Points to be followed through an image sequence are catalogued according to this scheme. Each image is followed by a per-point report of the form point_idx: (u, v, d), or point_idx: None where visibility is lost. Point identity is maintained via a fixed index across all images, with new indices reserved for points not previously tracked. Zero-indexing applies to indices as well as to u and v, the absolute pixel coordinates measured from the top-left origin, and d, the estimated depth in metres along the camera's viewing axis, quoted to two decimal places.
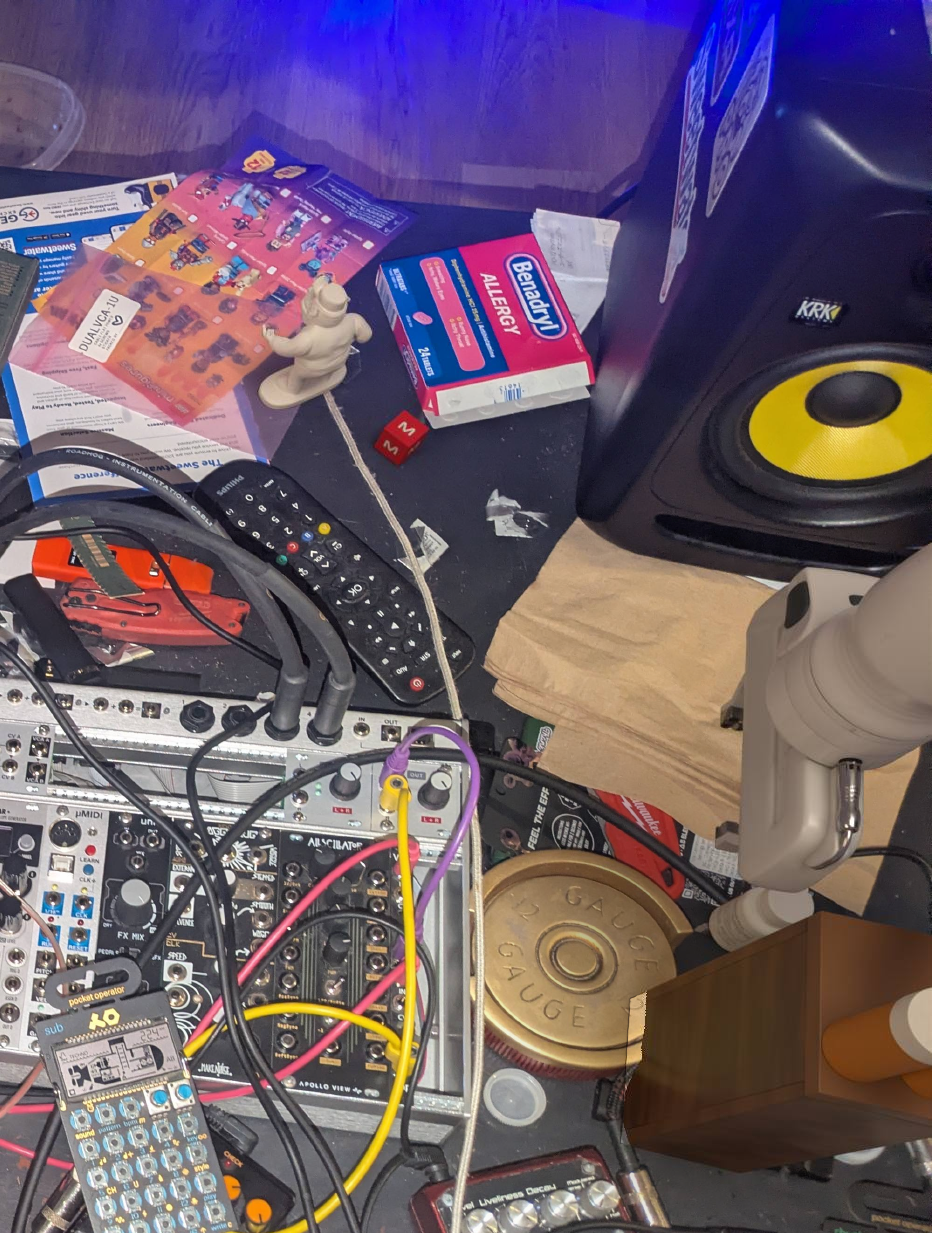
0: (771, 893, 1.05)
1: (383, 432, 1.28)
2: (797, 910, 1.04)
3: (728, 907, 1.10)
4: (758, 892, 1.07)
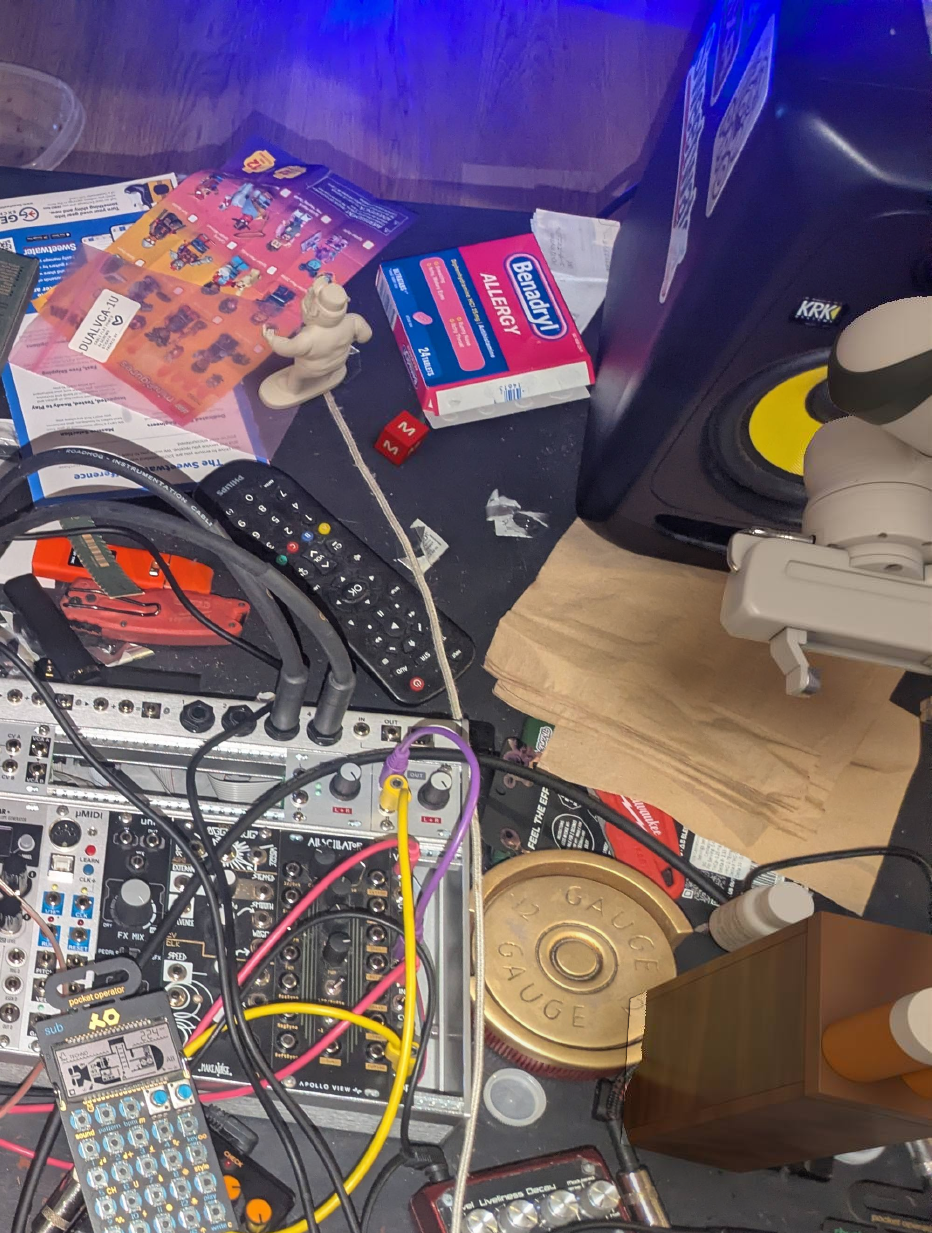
0: (771, 893, 1.05)
1: (383, 432, 1.28)
2: (797, 910, 1.04)
3: (728, 907, 1.10)
4: (758, 892, 1.07)
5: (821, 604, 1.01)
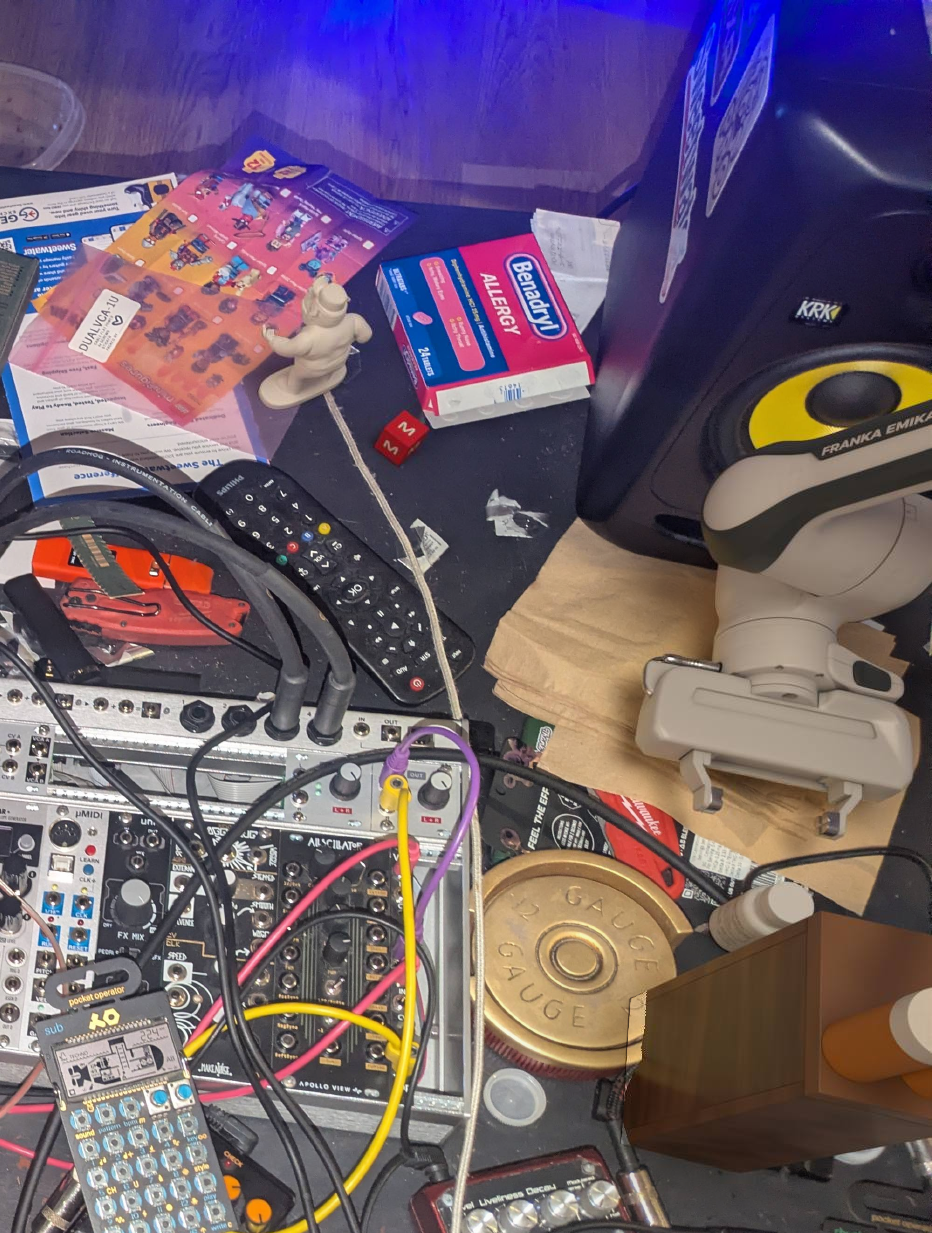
0: (771, 893, 1.05)
1: (383, 432, 1.28)
2: (797, 910, 1.04)
3: (728, 907, 1.10)
4: (758, 892, 1.07)
5: (724, 729, 1.11)
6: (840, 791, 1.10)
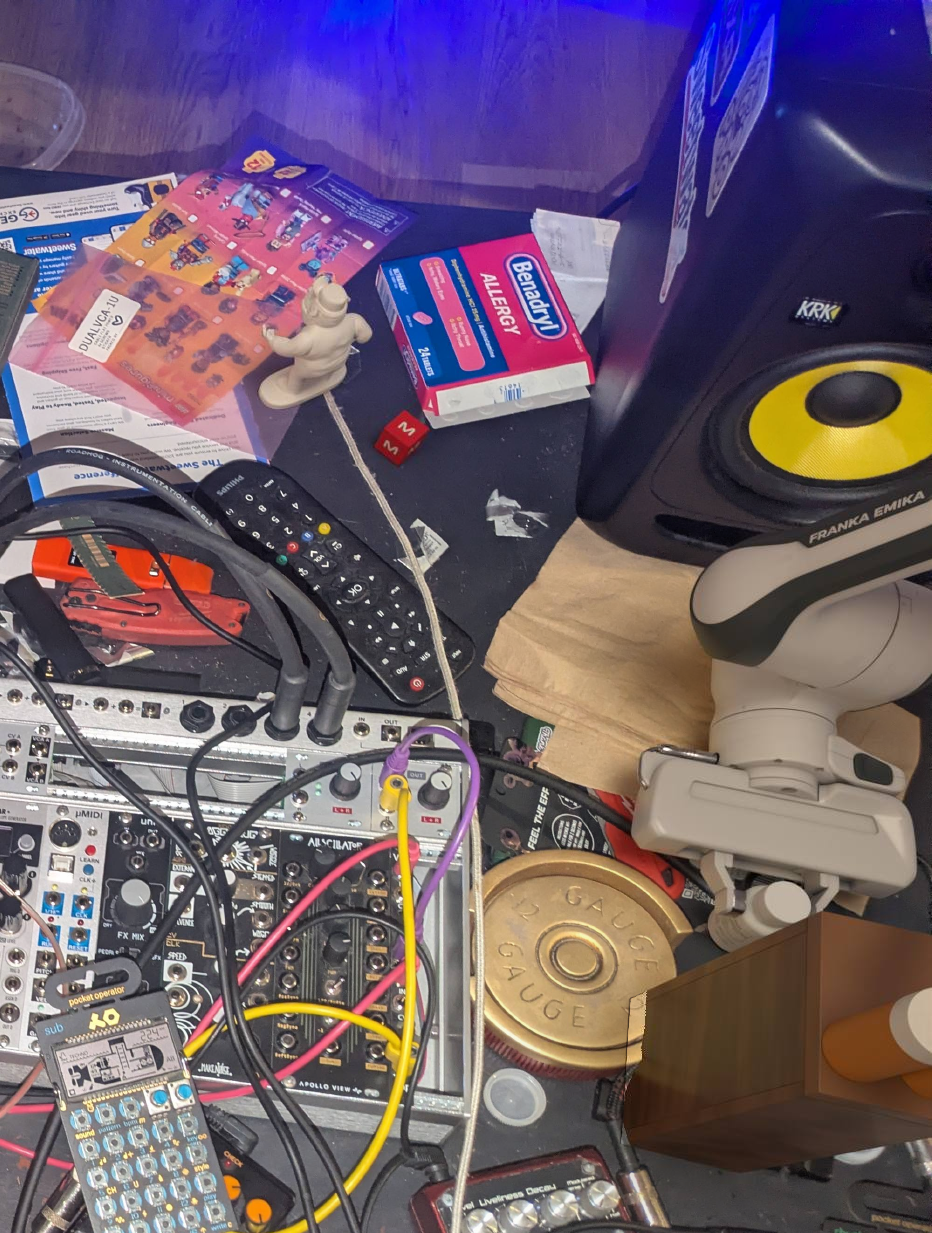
0: (767, 892, 1.05)
1: (383, 432, 1.28)
2: (793, 909, 1.04)
3: None
4: (755, 892, 1.07)
5: (722, 824, 1.08)
6: (816, 883, 1.07)
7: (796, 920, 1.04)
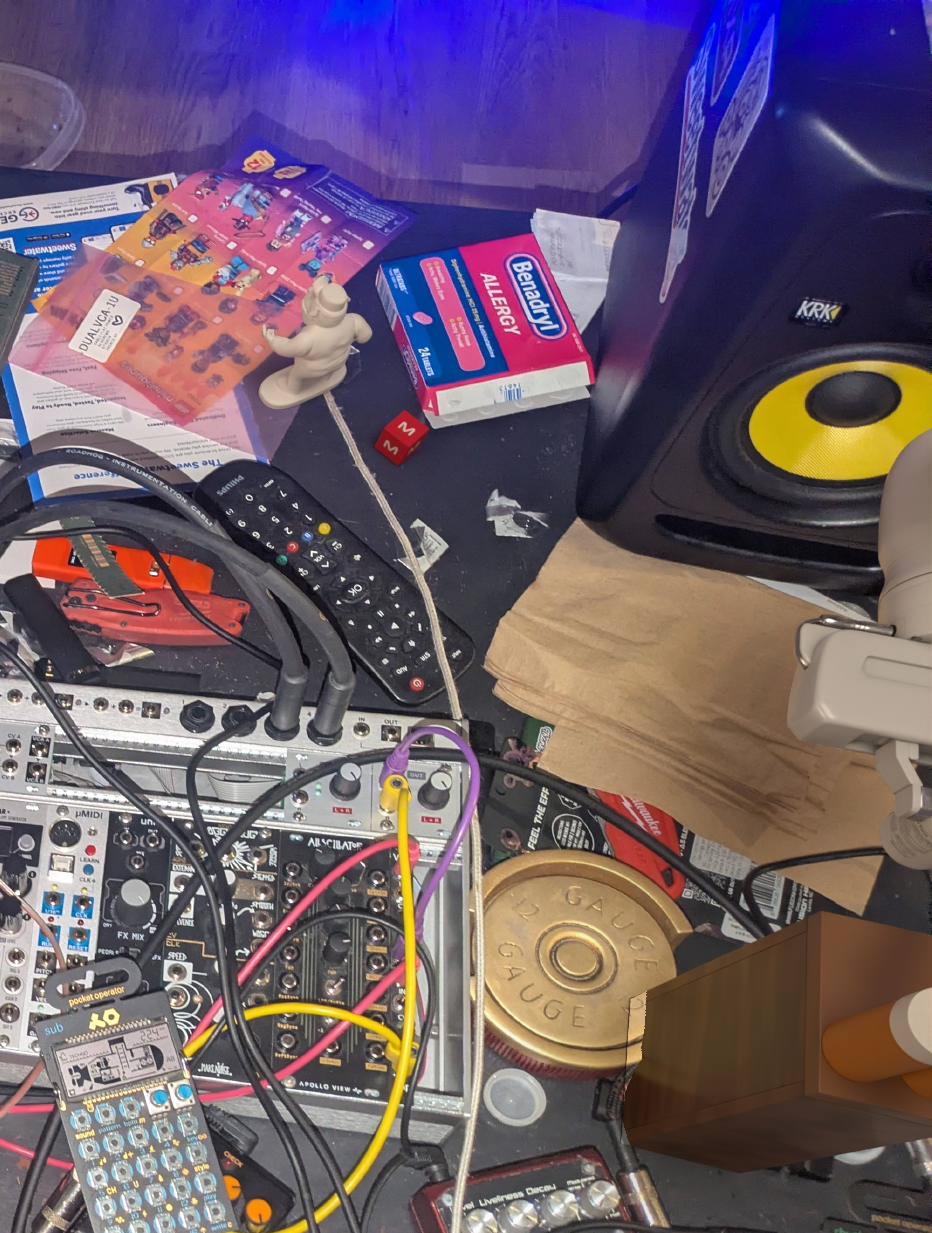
0: None
1: (383, 432, 1.28)
2: None
3: None
4: None
5: (905, 707, 0.88)
6: None
7: None
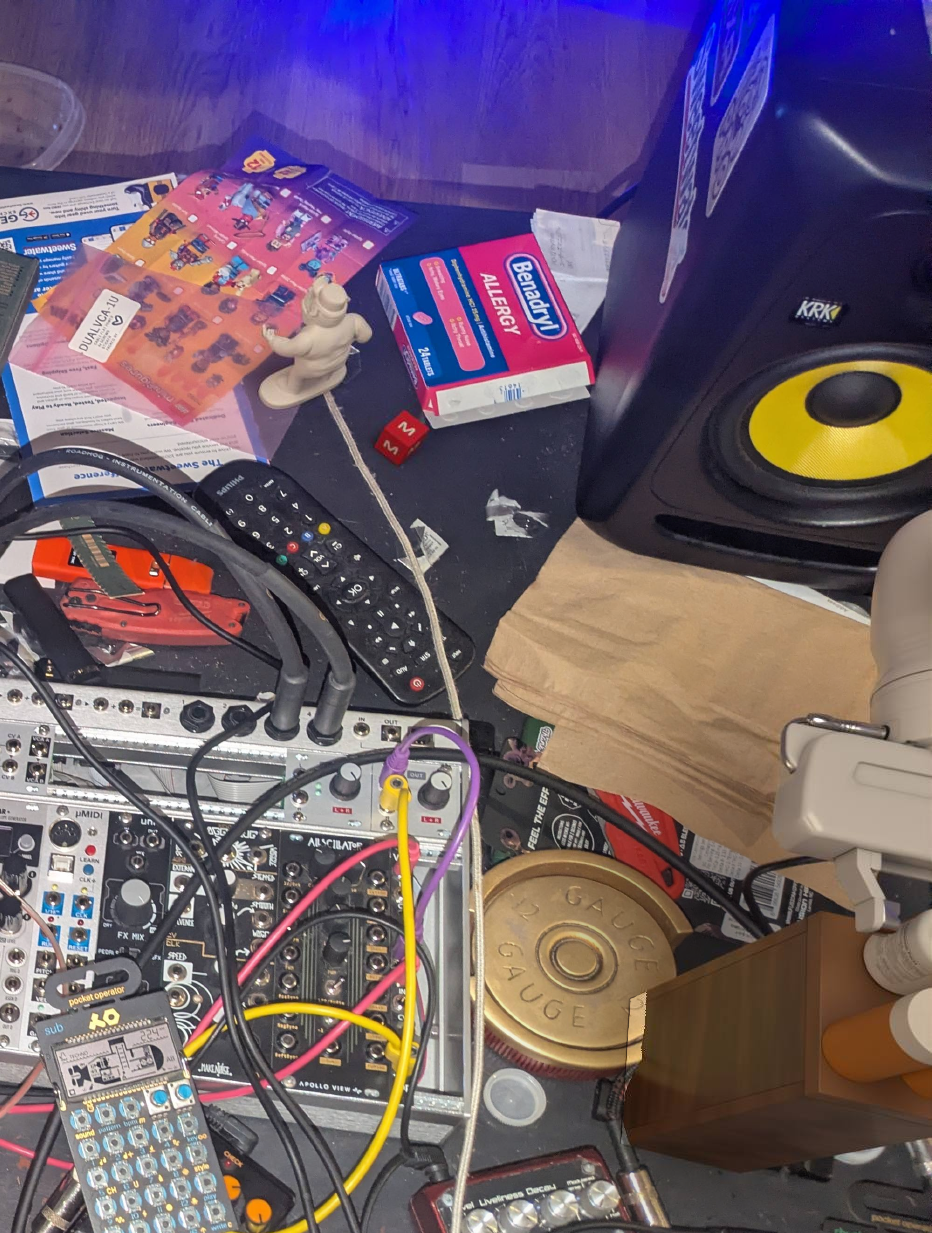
0: None
1: (383, 432, 1.28)
2: None
3: (893, 934, 0.83)
4: None
5: (899, 820, 0.81)
6: None
7: None
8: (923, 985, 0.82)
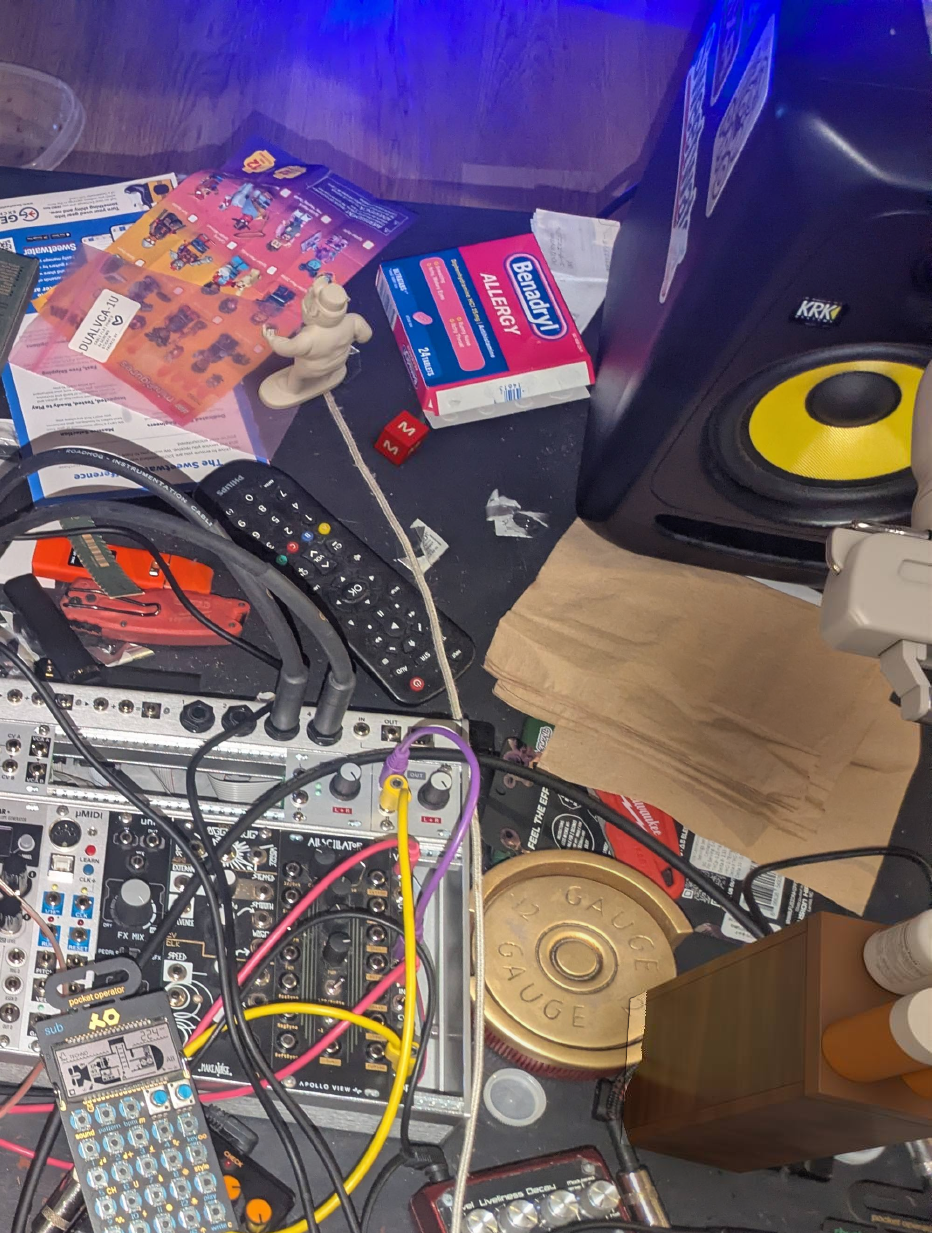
0: None
1: (383, 432, 1.28)
2: None
3: (893, 934, 0.83)
4: None
5: None
6: None
7: None
8: (923, 985, 0.82)
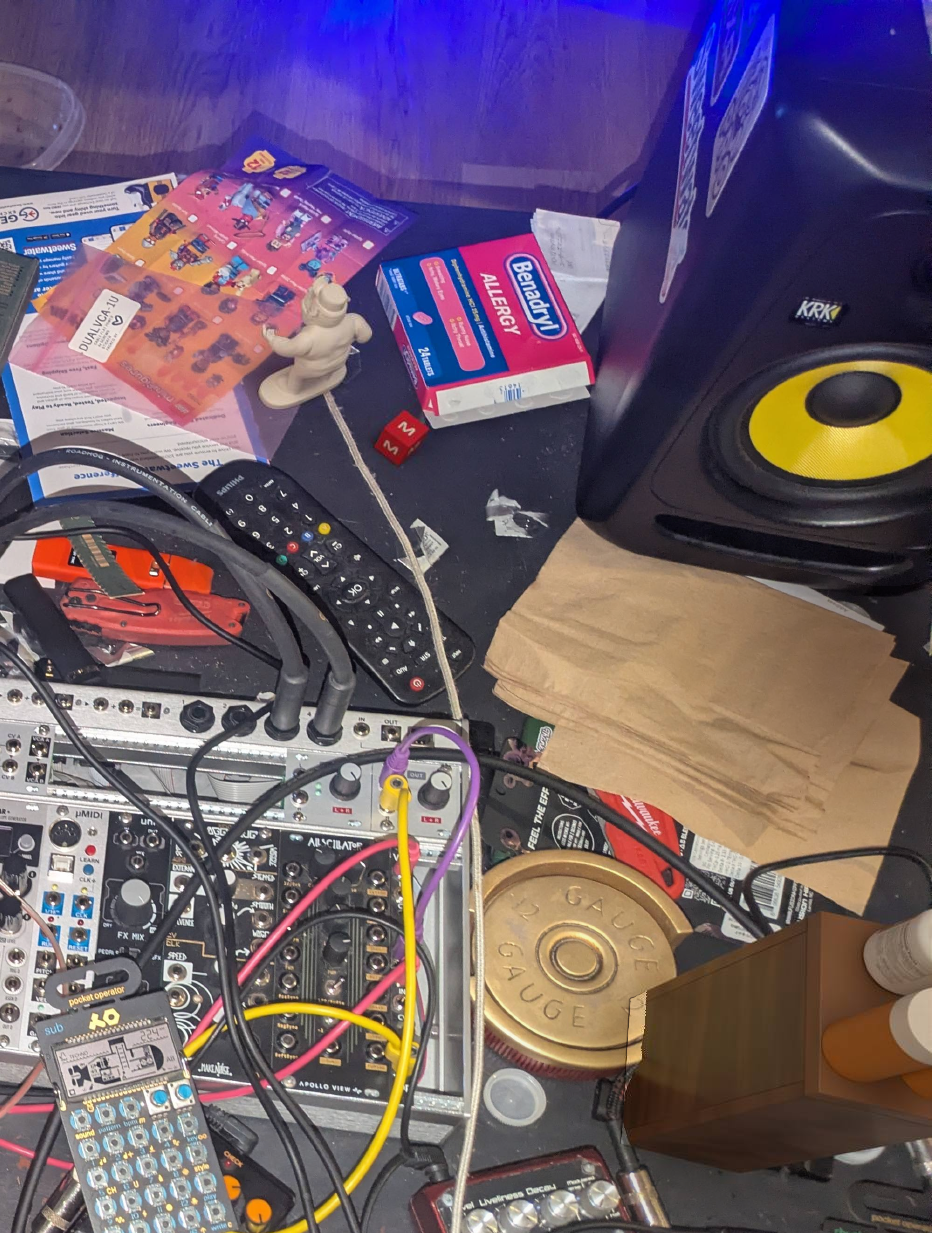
0: None
1: (383, 432, 1.28)
2: None
3: (893, 934, 0.83)
4: None
5: None
6: None
7: None
8: (923, 985, 0.82)
